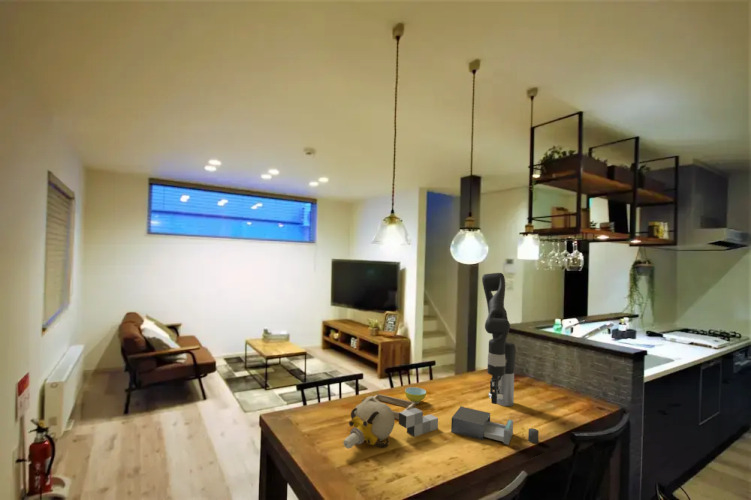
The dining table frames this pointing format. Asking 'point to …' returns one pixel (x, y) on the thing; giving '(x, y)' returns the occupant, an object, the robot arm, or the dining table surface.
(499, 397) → the disc
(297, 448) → the dining table surface
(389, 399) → the serving frame
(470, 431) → the housing
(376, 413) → the decorative object
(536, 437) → the capsule
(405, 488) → the dining table surface
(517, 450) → the dining table surface
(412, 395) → the bowl
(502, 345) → the robot arm
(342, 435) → the dining table surface
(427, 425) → the block
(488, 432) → the tray
